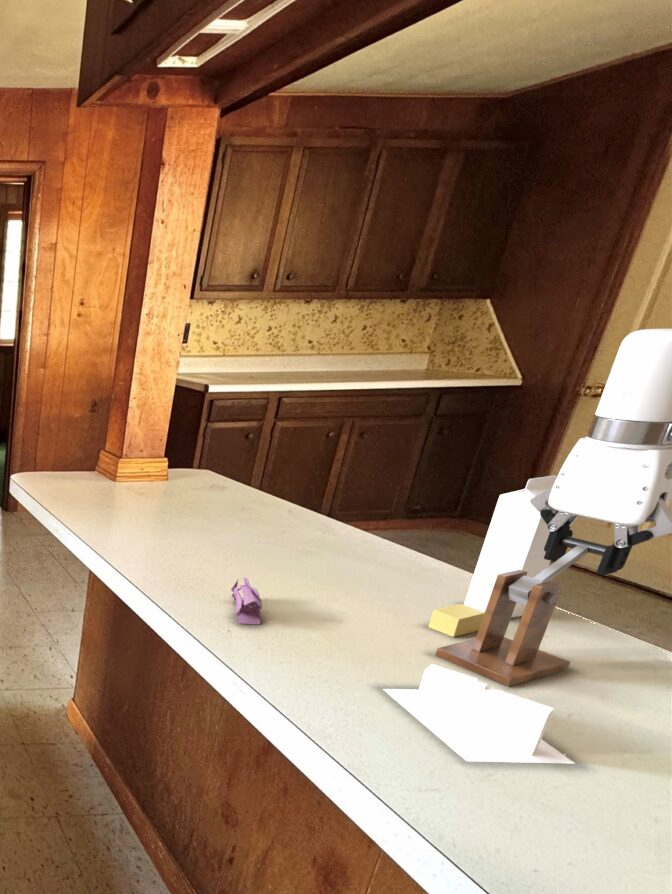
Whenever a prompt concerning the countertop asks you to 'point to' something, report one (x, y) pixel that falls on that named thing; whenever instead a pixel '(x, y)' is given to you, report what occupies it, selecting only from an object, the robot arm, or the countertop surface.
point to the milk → (511, 543)
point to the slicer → (504, 655)
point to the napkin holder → (480, 718)
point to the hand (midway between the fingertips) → (579, 564)
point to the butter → (456, 620)
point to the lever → (554, 567)
